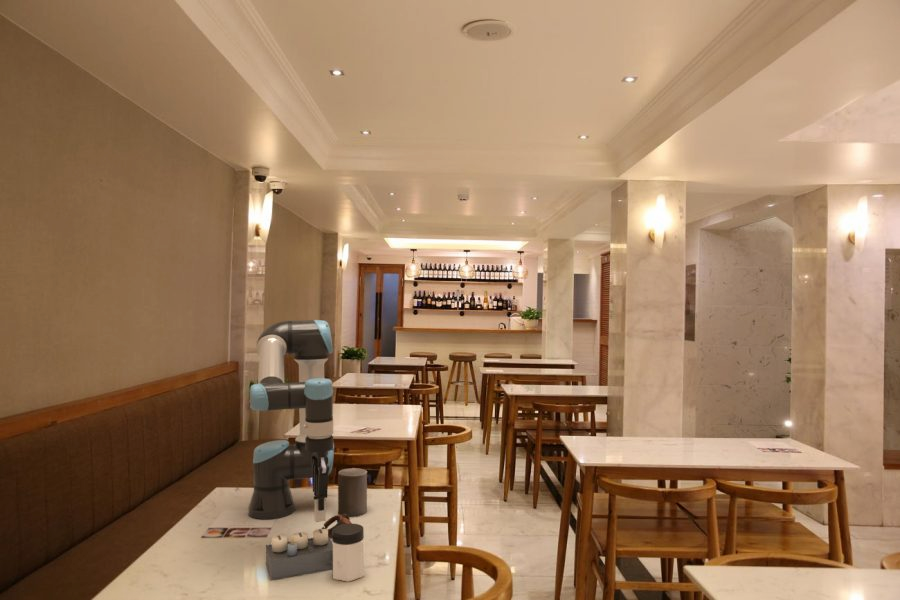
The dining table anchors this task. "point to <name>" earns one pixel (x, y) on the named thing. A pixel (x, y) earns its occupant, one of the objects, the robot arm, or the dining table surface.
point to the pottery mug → (340, 520)
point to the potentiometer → (292, 548)
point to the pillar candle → (352, 492)
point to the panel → (299, 560)
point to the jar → (348, 552)
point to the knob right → (320, 537)
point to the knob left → (279, 543)
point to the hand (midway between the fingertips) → (320, 520)
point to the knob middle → (301, 540)
